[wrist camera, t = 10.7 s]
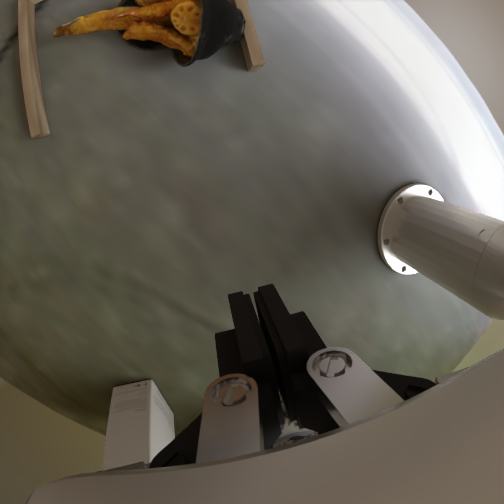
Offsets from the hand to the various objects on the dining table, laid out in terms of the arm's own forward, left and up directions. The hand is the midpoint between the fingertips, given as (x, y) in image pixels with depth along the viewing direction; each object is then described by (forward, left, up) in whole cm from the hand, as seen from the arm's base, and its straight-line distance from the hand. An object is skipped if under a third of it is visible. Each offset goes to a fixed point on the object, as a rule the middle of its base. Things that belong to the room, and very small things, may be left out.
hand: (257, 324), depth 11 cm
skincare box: (+17, +23, -23) cm, 37 cm away
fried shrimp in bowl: (+2, -21, -23) cm, 31 cm away
